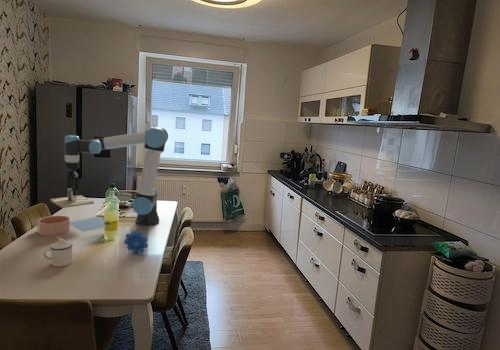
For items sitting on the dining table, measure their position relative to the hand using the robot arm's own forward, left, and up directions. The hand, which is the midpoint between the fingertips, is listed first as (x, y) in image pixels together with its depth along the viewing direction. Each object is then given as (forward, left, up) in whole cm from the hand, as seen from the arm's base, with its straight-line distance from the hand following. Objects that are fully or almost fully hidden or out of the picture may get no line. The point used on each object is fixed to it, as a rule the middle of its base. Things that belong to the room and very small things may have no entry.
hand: (72, 199), depth 200 cm
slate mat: (-2, -11, -18) cm, 21 cm away
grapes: (-59, -6, -18) cm, 62 cm away
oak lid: (0, 0, -2) cm, 2 cm away
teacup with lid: (-45, +26, -18) cm, 54 cm away
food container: (+25, -49, -18) cm, 58 cm away
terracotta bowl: (0, +11, -18) cm, 20 cm away
